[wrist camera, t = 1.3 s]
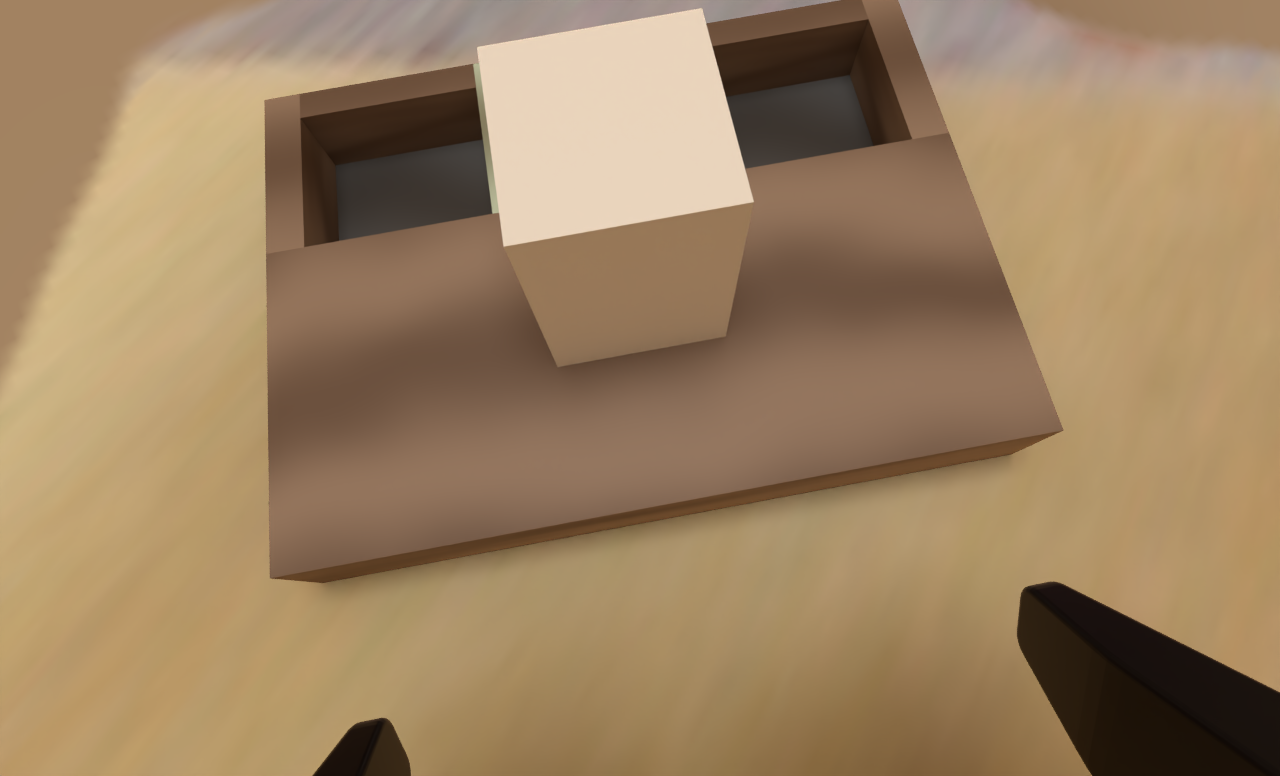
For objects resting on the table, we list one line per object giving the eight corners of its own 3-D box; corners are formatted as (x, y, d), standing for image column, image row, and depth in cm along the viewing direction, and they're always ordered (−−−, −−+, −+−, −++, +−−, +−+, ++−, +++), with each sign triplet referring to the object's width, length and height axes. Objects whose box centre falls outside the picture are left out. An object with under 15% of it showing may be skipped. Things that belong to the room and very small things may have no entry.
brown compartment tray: (1012, 454, 22) (1063, 430, 19) (322, 583, 21) (270, 578, 19) (870, 56, 27) (894, -9, 24) (308, 155, 26) (264, 100, 24)
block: (725, 336, 20) (754, 201, 14) (557, 367, 20) (503, 247, 14) (691, 192, 22) (702, 8, 15) (535, 220, 22) (476, 47, 15)
